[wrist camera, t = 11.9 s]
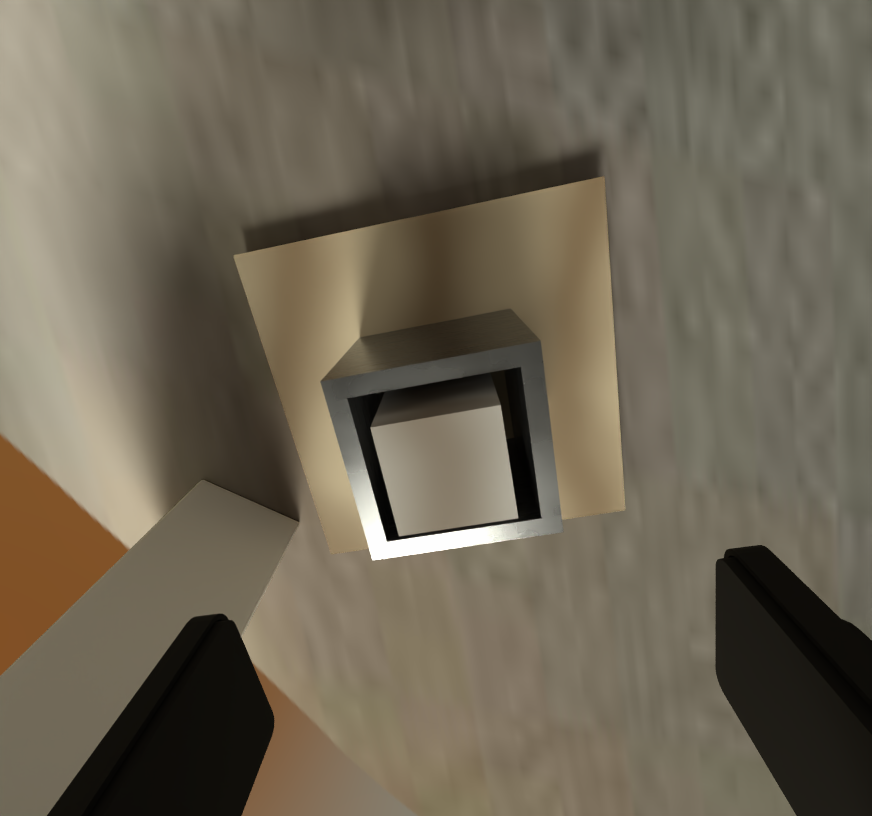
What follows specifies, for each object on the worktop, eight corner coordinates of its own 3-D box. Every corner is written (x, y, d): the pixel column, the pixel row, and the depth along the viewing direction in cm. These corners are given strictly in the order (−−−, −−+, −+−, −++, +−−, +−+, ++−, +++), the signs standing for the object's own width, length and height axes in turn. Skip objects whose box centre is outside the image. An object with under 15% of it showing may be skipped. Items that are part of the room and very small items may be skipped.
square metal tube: (510, 308, 20) (540, 340, 14) (529, 448, 23) (563, 532, 16) (359, 337, 21) (320, 381, 15) (393, 470, 23) (372, 560, 17)
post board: (593, 180, 20) (710, 132, 11) (615, 494, 25) (706, 633, 16) (247, 254, 21) (104, 264, 12) (337, 537, 27) (282, 686, 18)
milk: (301, 520, 26) (-206, 1526, 6) (264, 594, 28) (-218, 1550, 8) (199, 476, 26) (-832, 1481, 5) (168, 555, 27) (-671, 1521, 7)
